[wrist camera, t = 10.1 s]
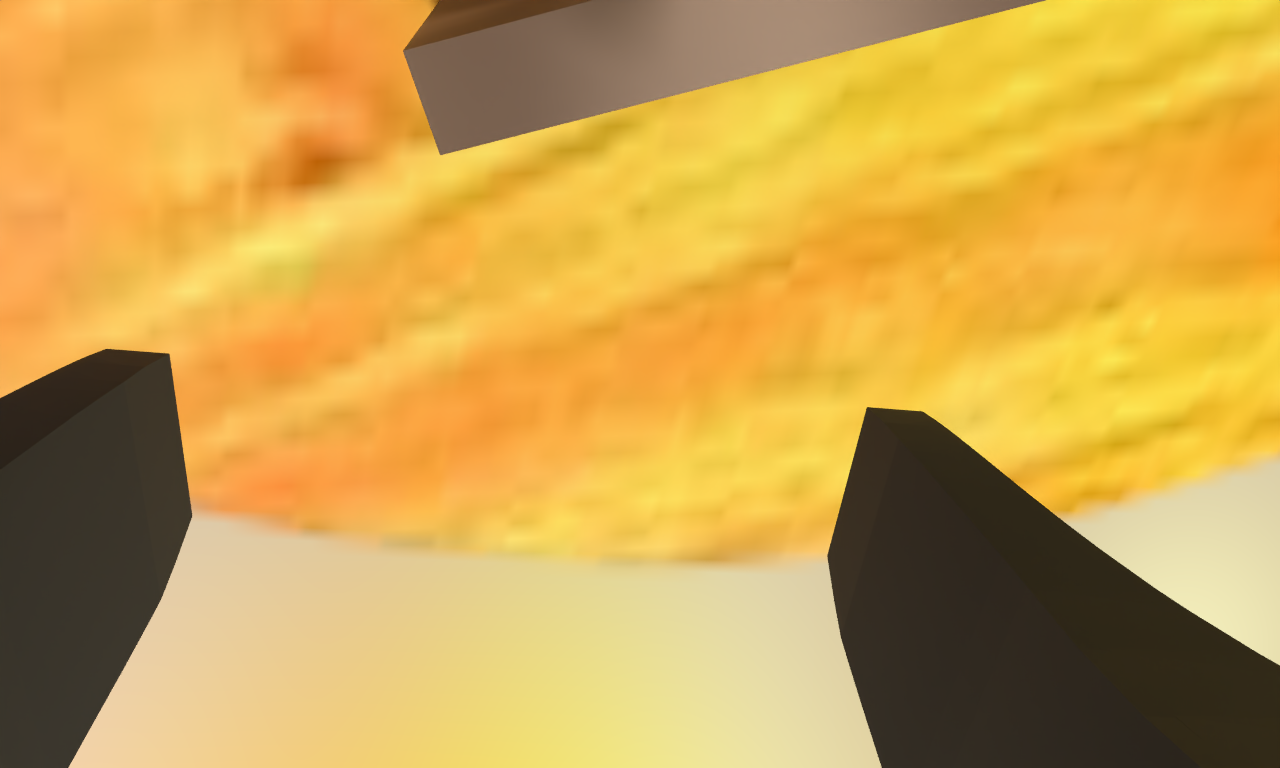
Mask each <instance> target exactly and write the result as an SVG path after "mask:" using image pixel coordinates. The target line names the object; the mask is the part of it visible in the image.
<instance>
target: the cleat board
mask: <svg viewBox="0 0 1280 768" xmlns="http://www.w3.org/2000/svg"><path fill="white" fill-rule="evenodd" d="M1041 1H1044V0H440V1H439V2H438V4H437V5H436V7H435V8H434V9H433V11H432V12H431V13H430V15H429V16H428V18H427V19H426V20H425V22H424V23H423V24H422V26H421V27H420V28H419V30H418V31H417V33H416V34H415V35H414V37H413V38H412V39H411V41H410V42H409V44H408V45H407V46H406V48H405V49H404V50H403V52H404V55H405V58H406V60H407V63H408V66H409V69H410V72H411V74H412V77H413V80H414V83H415V86H416V88H417V91H418V94H419V97H420V100H421V102H422V105H423V108H424V111H425V114H426V116H427V119H428V122H429V125H430V128H431V130H432V133H433V136H434V139H435V142H436V144H437V147H438V150H439V153H440V155H443V154H447V153H451V152H455V151H459V150H463V149H467V148H470V147H474V146H478V145H482V144H486V143H490V142H494V141H498V140H502V139H506V138H509V137H513V136H517V135H521V134H525V133H529V132H533V131H537V130H541V129H545V128H549V127H552V126H556V125H560V124H564V123H568V122H572V121H576V120H580V119H584V118H588V117H591V116H595V115H599V114H603V113H607V112H611V111H615V110H619V109H623V108H627V107H631V106H634V105H638V104H642V103H646V102H650V101H654V100H658V99H662V98H666V97H670V96H673V95H677V94H681V93H685V92H689V91H693V90H697V89H701V88H705V87H709V86H713V85H716V84H720V83H724V82H728V81H732V80H736V79H740V78H744V77H748V76H752V75H756V74H759V73H763V72H767V71H771V70H775V69H779V68H783V67H787V66H791V65H795V64H798V63H802V62H806V61H810V60H814V59H818V58H822V57H826V56H830V55H834V54H838V53H841V52H845V51H849V50H853V49H857V48H861V47H865V46H869V45H873V44H877V43H880V42H884V41H888V40H892V39H896V38H900V37H904V36H908V35H912V34H916V33H920V32H923V31H927V30H931V29H935V28H939V27H943V26H947V25H951V24H955V23H959V22H962V21H966V20H970V19H974V18H978V17H982V16H986V15H990V14H994V13H998V12H1002V11H1005V10H1009V9H1013V8H1017V7H1021V6H1025V5H1029V4H1033V3H1037V2H1041Z"/></svg>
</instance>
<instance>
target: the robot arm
mask: <svg viewBox="0 0 1280 768" xmlns="http://www.w3.org/2000/svg"><path fill="white" fill-rule="evenodd" d="M191 518H192V511H191V504H190V497H189V489H188V482H187V475H186V468H185V461H184V454H183V447H182V440H181V433H180V426H179V419H178V412H177V405H176V397H175V390H174V383H173V376H172V369H171V362H170V355H169V354H166V353H153V352H140V351H127V350H114V349H105V350H102V351H100V352H97V353H95V354H92V355H89V356H87V357H85V358H82V359H80V360H78V361H75V362H73V363H71V364H69V365H67V366H65V367H62V368H60V369H58V370H56V371H54V372H52V373H50V374H48V375H46V376H44V377H42V378H40V379H38V380H36V381H34V382H32V383H30V384H28V385H26V386H24V387H22V388H20V389H18V390H16V391H14V392H12V393H10V394H8V395H6V396H4V397H2V398H0V768H68V767H69V765H70V763H71V762H72V760H73V758H74V756H75V755H76V753H77V751H78V749H79V748H80V746H81V744H82V742H83V740H84V738H85V737H86V735H87V733H88V731H89V729H90V728H91V726H92V724H93V722H94V720H95V719H96V717H97V715H98V713H99V712H100V710H101V708H102V706H103V705H104V703H105V701H106V699H107V697H108V696H109V694H110V692H111V690H112V688H113V687H114V685H115V683H116V681H117V679H118V677H119V676H120V674H121V672H122V671H123V669H124V667H125V665H126V663H127V661H128V660H129V658H130V656H131V654H132V652H133V650H134V649H135V647H136V645H137V643H138V641H139V639H140V638H141V636H142V634H143V632H144V630H145V628H146V627H147V625H148V622H149V621H150V619H151V617H152V615H153V614H154V612H155V610H156V608H157V606H158V604H159V602H160V600H161V598H162V596H163V593H164V590H165V588H166V585H167V583H168V580H169V578H170V575H171V573H172V570H173V568H174V565H175V563H176V560H177V557H178V554H179V552H180V548H181V546H182V543H183V540H184V538H185V535H186V532H187V529H188V526H189V523H190V521H191ZM827 556H828V563H829V569H830V576H831V583H832V589H833V596H834V601H835V607H836V613H837V618H838V624H839V629H840V635H841V639H842V642H843V646H844V649H845V652H846V656H847V659H848V662H849V666H850V669H851V672H852V675H853V678H854V682H855V684H856V688H857V691H858V694H859V697H860V701H861V704H862V707H863V710H864V713H865V716H866V720H867V723H868V726H869V729H870V732H871V735H872V738H873V742H874V745H875V747H876V751H877V754H878V757H879V760H880V763H881V766H882V768H1280V665H1278V664H1276V663H1274V662H1273V661H1271V660H1269V659H1267V658H1265V657H1264V656H1262V655H1260V654H1258V653H1257V652H1255V651H1254V650H1252V649H1250V648H1249V647H1247V646H1245V645H1244V644H1242V643H1241V642H1239V641H1237V640H1236V639H1234V638H1232V637H1231V636H1229V635H1228V634H1226V633H1224V632H1223V631H1221V630H1219V629H1218V628H1216V627H1214V626H1213V625H1211V624H1210V623H1208V622H1206V621H1205V620H1203V619H1202V618H1200V617H1198V616H1197V615H1195V614H1193V613H1192V612H1190V611H1189V610H1187V609H1186V608H1184V607H1182V606H1181V605H1179V604H1178V603H1176V602H1175V601H1173V600H1171V599H1170V598H1169V597H1167V596H1166V595H1164V594H1163V593H1161V592H1160V591H1158V590H1157V589H1155V588H1154V587H1152V586H1151V585H1150V584H1148V583H1147V582H1145V581H1144V580H1142V579H1141V578H1140V577H1138V576H1137V575H1136V574H1134V573H1133V572H1131V571H1130V570H1129V569H1127V568H1126V567H1124V566H1123V565H1121V564H1120V563H1118V562H1117V561H1116V560H1115V559H1113V558H1112V557H1110V556H1109V555H1108V554H1106V553H1105V552H1103V551H1102V550H1100V549H1099V548H1098V547H1096V546H1095V545H1094V544H1092V543H1091V542H1090V541H1089V540H1087V539H1086V538H1085V537H1083V536H1082V535H1081V534H1079V533H1078V532H1077V531H1075V530H1074V529H1073V528H1071V527H1070V526H1069V525H1067V524H1066V523H1065V522H1064V521H1062V520H1061V519H1060V518H1058V517H1057V516H1056V515H1054V514H1053V513H1052V512H1051V511H1049V510H1048V509H1047V508H1046V507H1044V506H1043V505H1042V504H1041V503H1039V502H1038V501H1037V500H1036V499H1034V498H1033V497H1032V496H1030V495H1029V494H1028V493H1027V492H1026V491H1024V490H1023V489H1022V488H1021V487H1019V486H1018V485H1017V484H1016V483H1014V482H1013V481H1012V480H1011V479H1009V478H1008V477H1007V476H1006V475H1004V474H1003V473H1002V472H1001V471H1000V470H998V469H997V468H996V467H995V466H993V465H992V464H991V463H990V462H988V461H987V460H986V459H985V458H984V457H982V456H981V455H980V454H979V453H977V452H976V451H975V450H974V449H972V448H971V447H970V446H969V445H967V444H966V443H965V442H964V441H962V440H961V439H960V438H959V437H957V436H956V435H955V434H953V433H952V432H951V431H950V430H948V429H947V428H946V427H944V426H943V425H942V424H940V423H939V422H937V421H936V420H935V419H933V418H932V417H930V416H929V415H927V414H926V413H924V412H922V411H909V410H896V409H883V408H870V407H867V409H866V413H865V417H864V421H863V424H862V428H861V432H860V436H859V439H858V443H857V447H856V451H855V454H854V458H853V462H852V466H851V469H850V473H849V477H848V481H847V484H846V488H845V492H844V495H843V499H842V503H841V507H840V510H839V514H838V518H837V522H836V525H835V529H834V533H833V537H832V540H831V544H830V548H829V552H828V555H827Z"/></svg>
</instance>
